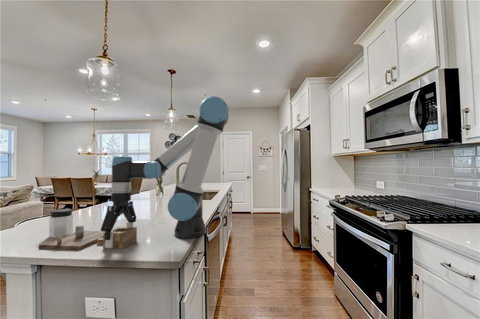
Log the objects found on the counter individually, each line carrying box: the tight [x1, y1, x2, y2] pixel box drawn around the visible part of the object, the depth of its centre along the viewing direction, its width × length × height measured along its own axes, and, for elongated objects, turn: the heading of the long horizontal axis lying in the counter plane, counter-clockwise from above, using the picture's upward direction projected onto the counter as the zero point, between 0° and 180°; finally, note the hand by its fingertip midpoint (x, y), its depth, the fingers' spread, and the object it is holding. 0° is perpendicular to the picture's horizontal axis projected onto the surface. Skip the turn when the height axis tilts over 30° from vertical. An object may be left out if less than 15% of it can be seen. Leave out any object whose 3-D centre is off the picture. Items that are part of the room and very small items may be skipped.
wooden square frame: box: [96, 226, 138, 249], centre depth 95 cm, size 14×9×6 cm, turn 84°
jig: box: [38, 225, 104, 251], centre depth 99 cm, size 18×20×6 cm
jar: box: [48, 208, 74, 239], centre depth 108 cm, size 9×8×12 cm
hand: (119, 241), depth 95 cm, fingers open, 13 cm apart
